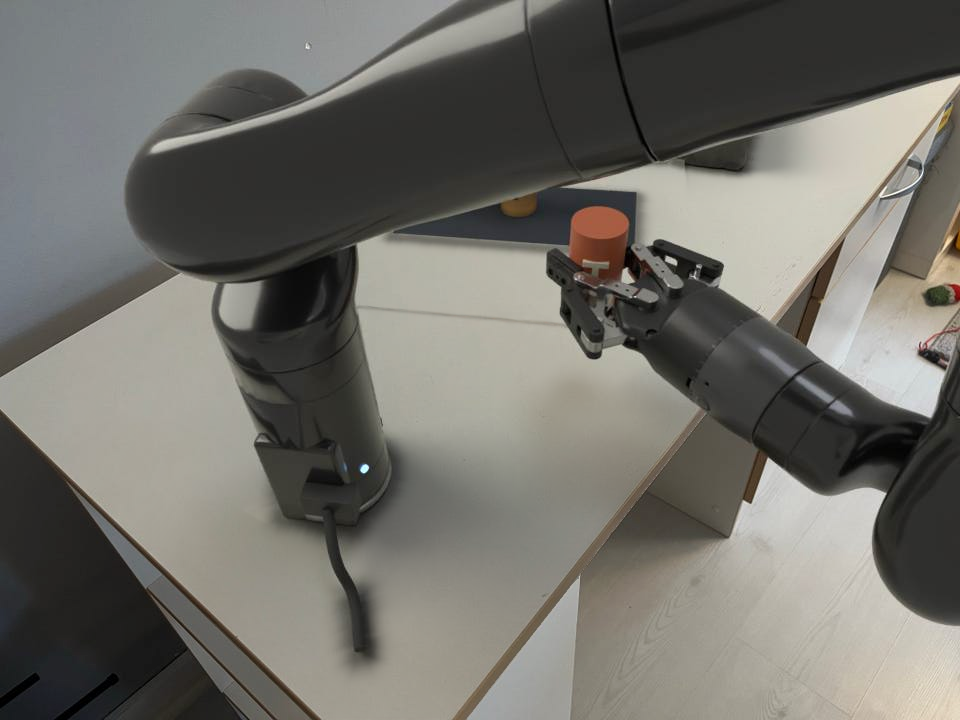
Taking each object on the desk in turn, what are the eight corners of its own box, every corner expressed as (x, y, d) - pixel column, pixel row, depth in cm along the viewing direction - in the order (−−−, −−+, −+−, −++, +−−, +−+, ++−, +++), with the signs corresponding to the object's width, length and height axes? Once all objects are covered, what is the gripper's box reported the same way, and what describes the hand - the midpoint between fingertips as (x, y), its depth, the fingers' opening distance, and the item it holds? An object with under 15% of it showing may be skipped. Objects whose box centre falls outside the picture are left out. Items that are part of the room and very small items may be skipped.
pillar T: (614, 340, 60) (628, 242, 53) (561, 335, 61) (568, 237, 53) (616, 305, 63) (630, 208, 56) (566, 300, 64) (573, 204, 57)
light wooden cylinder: (534, 219, 85) (535, 141, 78) (497, 216, 85) (495, 139, 78) (538, 198, 88) (540, 122, 81) (503, 196, 89) (502, 120, 82)
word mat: (633, 254, 80) (634, 249, 80) (393, 236, 84) (392, 232, 84) (636, 196, 89) (636, 191, 88) (416, 182, 93) (416, 178, 92)
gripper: (817, 282, 49) (641, 179, 59) (669, 372, 44) (503, 241, 54) (787, 359, 55) (630, 252, 65) (652, 448, 49) (504, 315, 59)
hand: (573, 247), depth 59 cm, fingers closed on pillar T, 4 cm apart
